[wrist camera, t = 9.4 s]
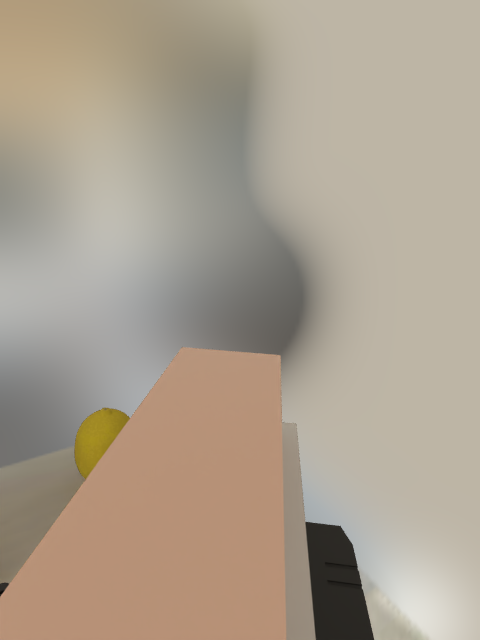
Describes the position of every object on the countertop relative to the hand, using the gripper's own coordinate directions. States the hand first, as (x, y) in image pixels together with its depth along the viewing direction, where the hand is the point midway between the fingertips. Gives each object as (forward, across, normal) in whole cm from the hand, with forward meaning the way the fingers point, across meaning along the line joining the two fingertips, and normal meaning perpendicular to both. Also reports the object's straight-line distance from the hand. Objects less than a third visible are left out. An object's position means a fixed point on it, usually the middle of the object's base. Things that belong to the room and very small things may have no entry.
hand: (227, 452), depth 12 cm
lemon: (+17, -13, -18) cm, 27 cm away
